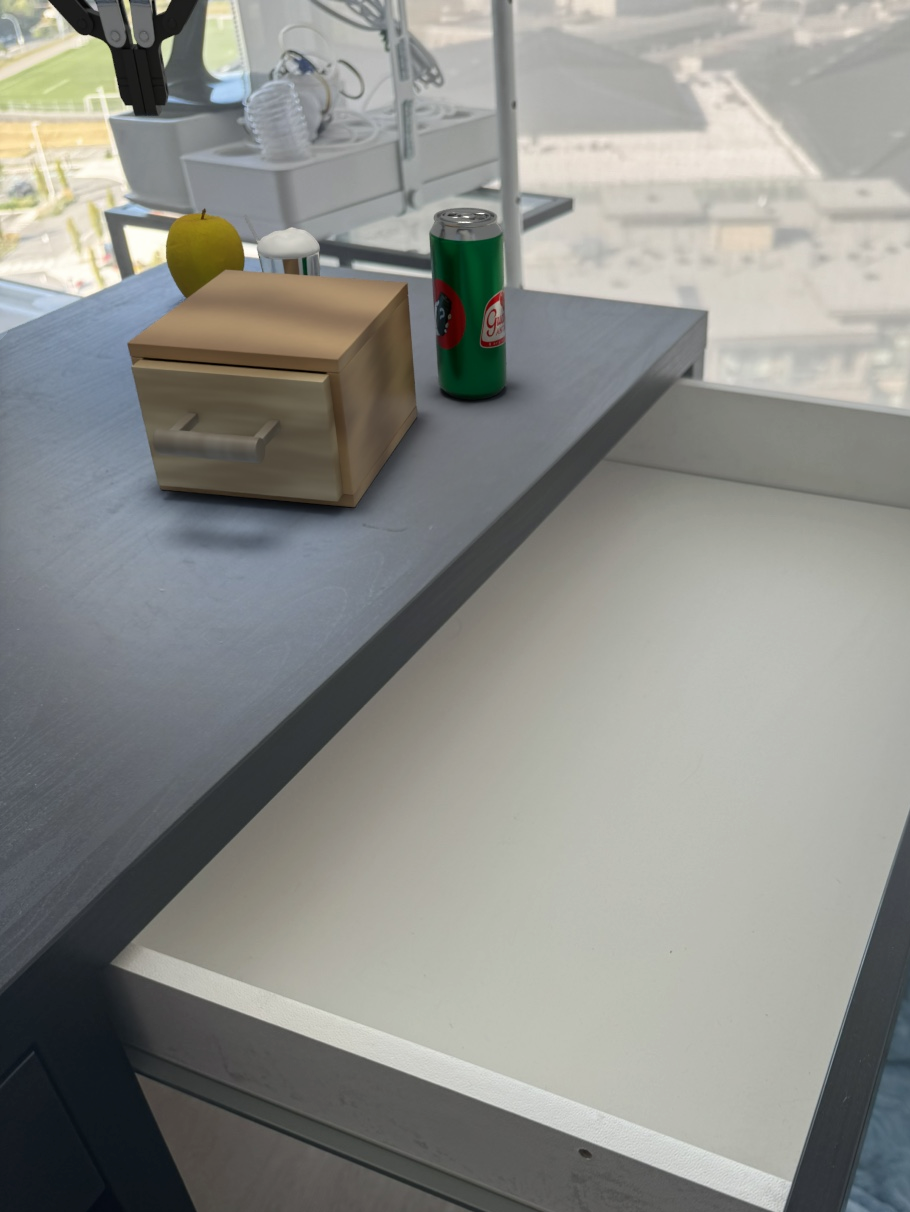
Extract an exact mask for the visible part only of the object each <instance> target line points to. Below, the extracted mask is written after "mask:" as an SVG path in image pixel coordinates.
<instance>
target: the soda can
mask: <svg viewBox="0 0 910 1212" xmlns="http://www.w3.org/2000/svg"><path fill="white" fill-rule="evenodd" d="M433 221H434V222H433V224H432V226H431V228H430V230H429V233H428V236H429V251H430V252H429V253H430V254H429V255H430V267H431V269H430V271H431V284H432V299H433V315H434V331H435V332H434V333H435V335H434V336H435V349H436V365H437V380H438V385H439V386H440V388H441V389H442V390H443V392H445V393H446V394H447V395H449V396H451V397H453V398H456V399H460V400H468V401H470V400H471V401H474V400H475V401H476V400H485V399H489V398H492V397H494V396H497V395H499V394H500V393H501V392H502V391H503V390H504V388H505V387H506V385H507V384H508V377H507V375H508V374H507V371H508V370H507V341H506V340H507V337H506V333H507V332H506V330H507V329H506V295H505V293H506V292H505V291H506V290H505V288H506V287H505V251H504V249H505V248H504V231H503V230H502V228H501V226H500V225H499V223H498V215H497V213H495V212H494V211H491V210H489V209H484V208H479V207H478V208H477V207H452V208H446V209H443V210H440V211H437V212H436V213H435V214H434V215H433Z"/></svg>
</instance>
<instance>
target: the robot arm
mask: <svg viewBox="0 0 910 1212" xmlns="http://www.w3.org/2000/svg"><path fill="white" fill-rule="evenodd" d="M47 1H48V2H49V3H50V4H51V5H52V6H53V7H54V9H55V10H56V11H57V12H58V13H59V14H60V15H61V17H62V18H63V19H64V20H65V21H66V22H67V23H68V24H69V25H70V26H71V28H73V30H74V31H75V32H76V33H77V34H79V35H81V36H90V37H92V38H95V39H97V40H100V41H102V42H103V43H105V45H106V46H107V47H108V49H109V50H110V54H111V59H112V64H113V68H114V73H115V78H116V83H117V88H118V93H119V97H120V99H121V101H122V102H123V104H124V106H132V110H133V114H134V116H135V117H159V116H160V115H161V113H162V107H163V106H166V105H167V103H168V102H169V101H168V100H169V95H170V90H169V84H168V79H167V74H166V68H165V63H164V62H165V61H164V58H163V57H164V56H163V51H162V43H163V41H165V40H167V39H170V38H172V37H174V36H177V35H178V36H179V34H181V33H182V32H183V30H184V29H185V28H186V26H187V24H188V22H189V20H190V18H191V16H192V14H193V12H194V10H195V8H196V7H197V4H198V2H199V0H170V2H169V3H168V5H167V7H166V9H165V11H162V12H160V13H158V8H157V0H128V3H129V9H130V15H131V17H130V18H131V23H130V21H129V16H128V13H127V9H126V5H125V1H124V0H93V1H94V3H95V4H96V7H97V10H96V9H94V8H93V7H92V5H91V4H90V3H89V2H88V1H87V0H47ZM131 25H132V28H131ZM132 32H133V34H132ZM133 38H134V40H135V43H134V40H133Z"/></svg>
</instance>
